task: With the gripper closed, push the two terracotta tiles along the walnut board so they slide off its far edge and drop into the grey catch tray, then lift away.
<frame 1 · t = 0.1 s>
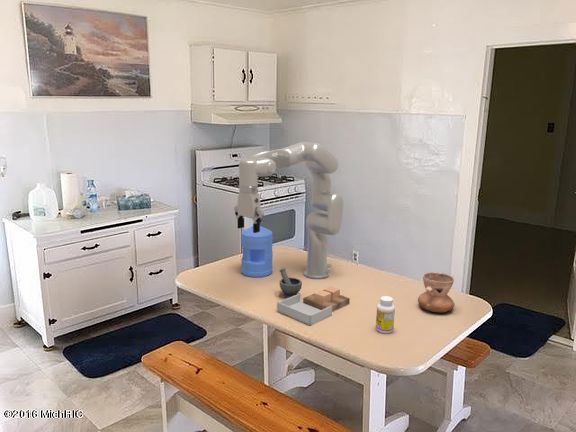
hand: (248, 230, 203), 31 cm above the table, tool pointing down, fingers open, 9 cm apart
mortar and pestle: (289, 296, 216), on the table
water jug: (256, 272, 244), on the table
board: (326, 303, 208), on the table
tile b: (322, 299, 205), point 2 cm above the table, touching board
tile a: (331, 296, 210), point 2 cm above the table, touching board
ceramic jug: (435, 308, 206), on the table
supplement bottle: (384, 330, 185), on the table
catch tray: (304, 313, 198), on the table
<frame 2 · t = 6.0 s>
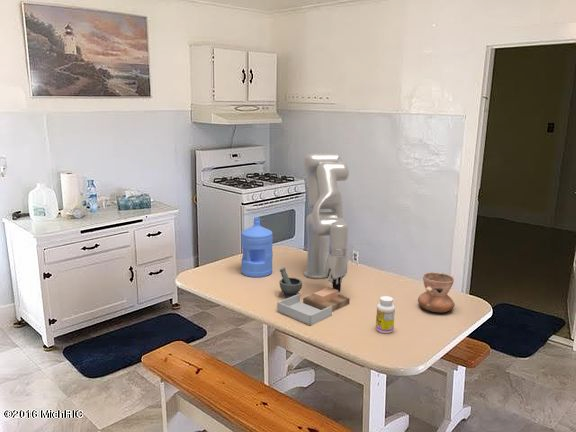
hand: (336, 291, 212), 4 cm above the table, tool pointing down, fingers closed
tile b: (322, 300, 205), point 2 cm above the table, touching board, tile a
tile a: (329, 296, 209), point 3 cm above the table, touching tile b
everything else where it was.
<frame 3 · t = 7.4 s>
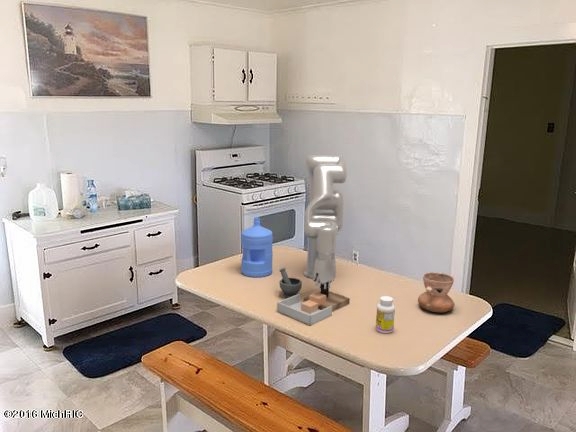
hand: (324, 296, 206), 4 cm above the table, tool pointing down, fingers closed
tile b: (309, 310, 200), resting on catch tray
tile a: (317, 302, 203), point 2 cm above the table, touching board, gripper
everything else where it was.
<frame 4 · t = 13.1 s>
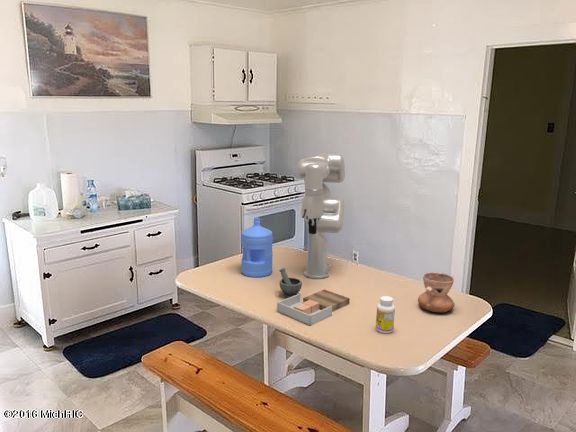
hand: (312, 233, 215), 27 cm above the table, tool pointing down, fingers closed
tile b: (302, 313, 197), resting on catch tray
tile a: (310, 309, 200), resting on catch tray
everything else where it was.
at the end: tile a inside the target area (4.1 cm from its centre), point 0.5 cm above the table; tile b inside the target area (1.2 cm from its centre), point 0.5 cm above the table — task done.
